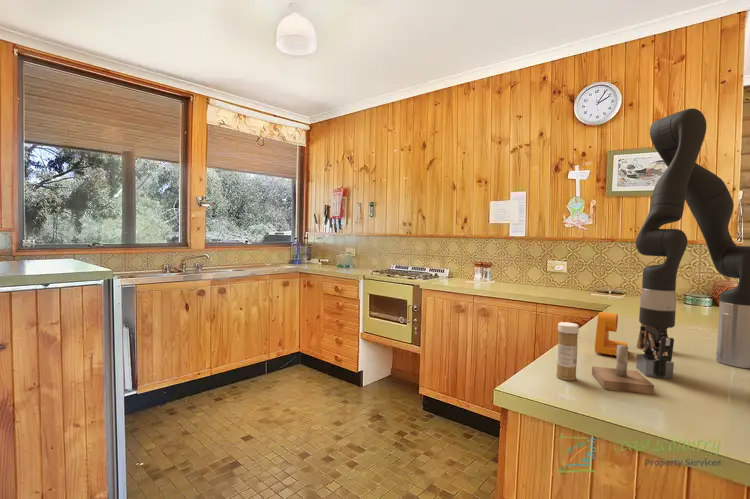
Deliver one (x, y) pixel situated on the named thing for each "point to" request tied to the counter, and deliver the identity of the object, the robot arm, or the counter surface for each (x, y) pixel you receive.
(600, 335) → the bracket
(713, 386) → the counter surface
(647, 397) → the counter surface
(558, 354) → the sprinkles bottle
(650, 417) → the counter surface
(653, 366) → the collar
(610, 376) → the wooden peg stand
